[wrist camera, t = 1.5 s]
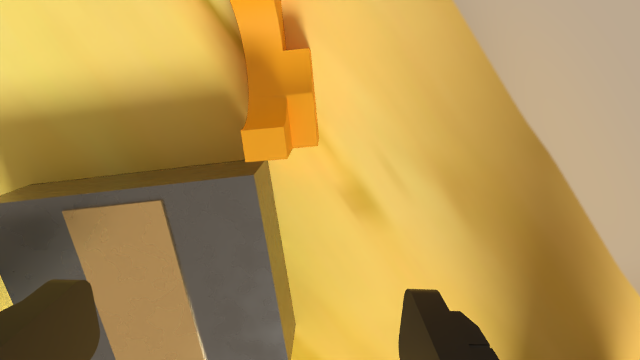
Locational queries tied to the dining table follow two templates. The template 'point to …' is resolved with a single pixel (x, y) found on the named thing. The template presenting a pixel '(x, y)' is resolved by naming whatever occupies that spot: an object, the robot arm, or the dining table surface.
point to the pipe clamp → (274, 85)
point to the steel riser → (160, 259)
